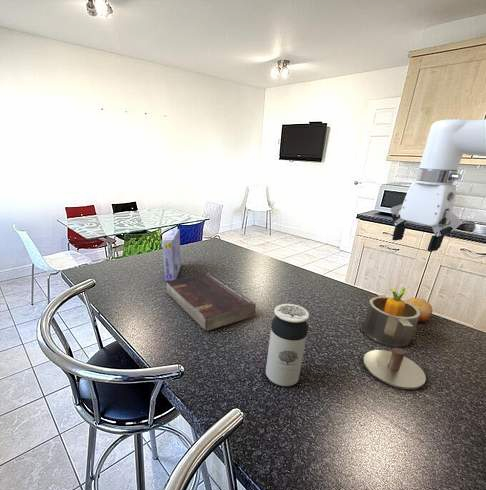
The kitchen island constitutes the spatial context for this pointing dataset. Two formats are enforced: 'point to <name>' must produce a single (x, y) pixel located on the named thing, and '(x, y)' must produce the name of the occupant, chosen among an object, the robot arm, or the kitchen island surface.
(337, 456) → the kitchen island surface
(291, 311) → the travel mug
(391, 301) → the carrot
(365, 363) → the pot lid
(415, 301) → the fruit
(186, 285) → the hardback book
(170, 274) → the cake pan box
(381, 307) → the pot
